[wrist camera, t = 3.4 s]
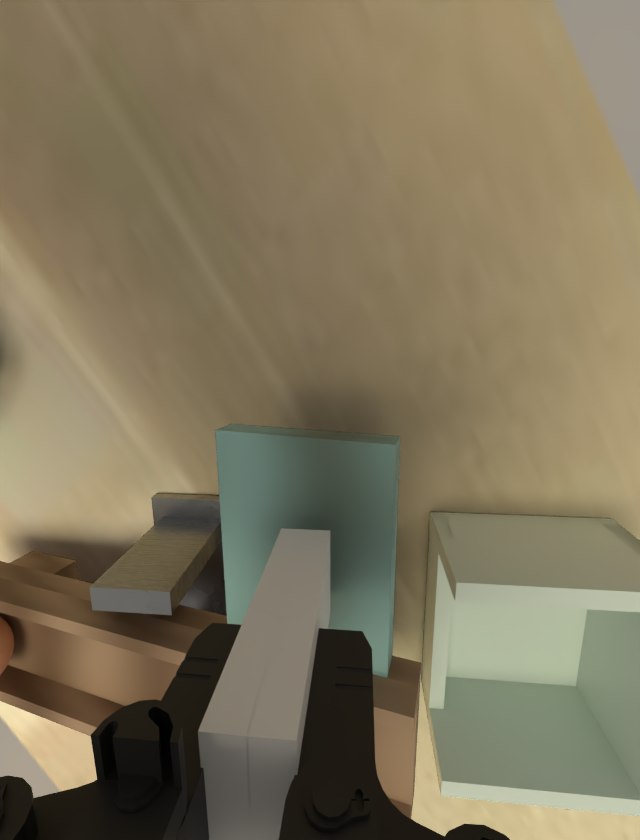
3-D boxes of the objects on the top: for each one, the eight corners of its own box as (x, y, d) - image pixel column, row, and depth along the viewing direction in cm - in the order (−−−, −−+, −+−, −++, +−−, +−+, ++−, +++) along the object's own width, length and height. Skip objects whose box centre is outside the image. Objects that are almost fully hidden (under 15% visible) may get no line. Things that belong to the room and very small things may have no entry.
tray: (430, 511, 21) (456, 582, 15) (611, 518, 20) (711, 595, 14) (421, 678, 23) (440, 796, 17) (584, 690, 22) (662, 818, 17)
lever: (29, 637, 24) (-64, 704, 20) (-14, 397, 21) (-136, 415, 17) (418, 759, 17) (402, 902, 13) (436, 427, 14) (425, 470, 10)
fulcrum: (157, 493, 22) (70, 562, 16) (237, 496, 22) (182, 568, 15) (173, 667, 25) (104, 790, 18) (246, 672, 24) (202, 801, 18)
